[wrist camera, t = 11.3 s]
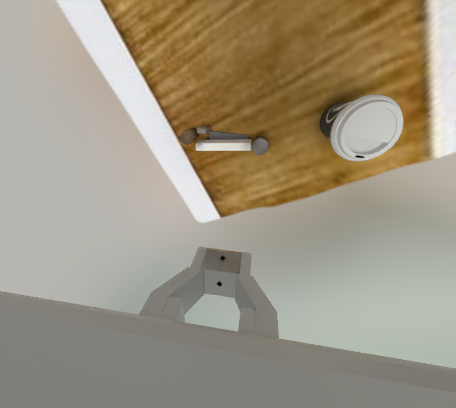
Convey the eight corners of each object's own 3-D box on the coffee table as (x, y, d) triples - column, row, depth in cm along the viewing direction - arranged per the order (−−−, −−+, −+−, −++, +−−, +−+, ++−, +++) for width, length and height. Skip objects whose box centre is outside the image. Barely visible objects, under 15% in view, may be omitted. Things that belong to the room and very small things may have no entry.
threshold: (209, 130, 46) (209, 131, 46) (248, 135, 45) (247, 135, 45) (209, 141, 47) (209, 141, 47) (246, 145, 46) (246, 146, 46)
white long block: (251, 139, 45) (250, 142, 41) (251, 146, 45) (250, 150, 42) (200, 139, 46) (195, 143, 43) (200, 146, 47) (196, 150, 44)
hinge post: (253, 133, 45) (253, 137, 40) (268, 135, 45) (269, 139, 40) (251, 148, 46) (250, 154, 42) (266, 150, 46) (266, 156, 42)
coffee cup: (302, 129, 43) (320, 144, 30) (334, 85, 38) (372, 79, 25) (337, 152, 44) (369, 175, 31) (373, 111, 40) (427, 118, 27)
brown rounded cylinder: (187, 124, 46) (179, 127, 42) (209, 126, 46) (204, 130, 41) (187, 139, 48) (180, 143, 44) (209, 142, 47) (204, 146, 43)
